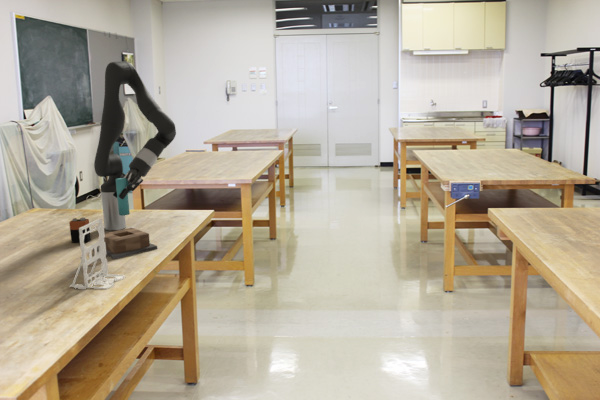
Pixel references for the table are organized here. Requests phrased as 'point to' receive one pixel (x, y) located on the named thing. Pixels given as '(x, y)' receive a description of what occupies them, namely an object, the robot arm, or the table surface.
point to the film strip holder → (100, 254)
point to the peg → (122, 203)
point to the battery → (74, 230)
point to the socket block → (126, 243)
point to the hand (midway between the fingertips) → (117, 197)
